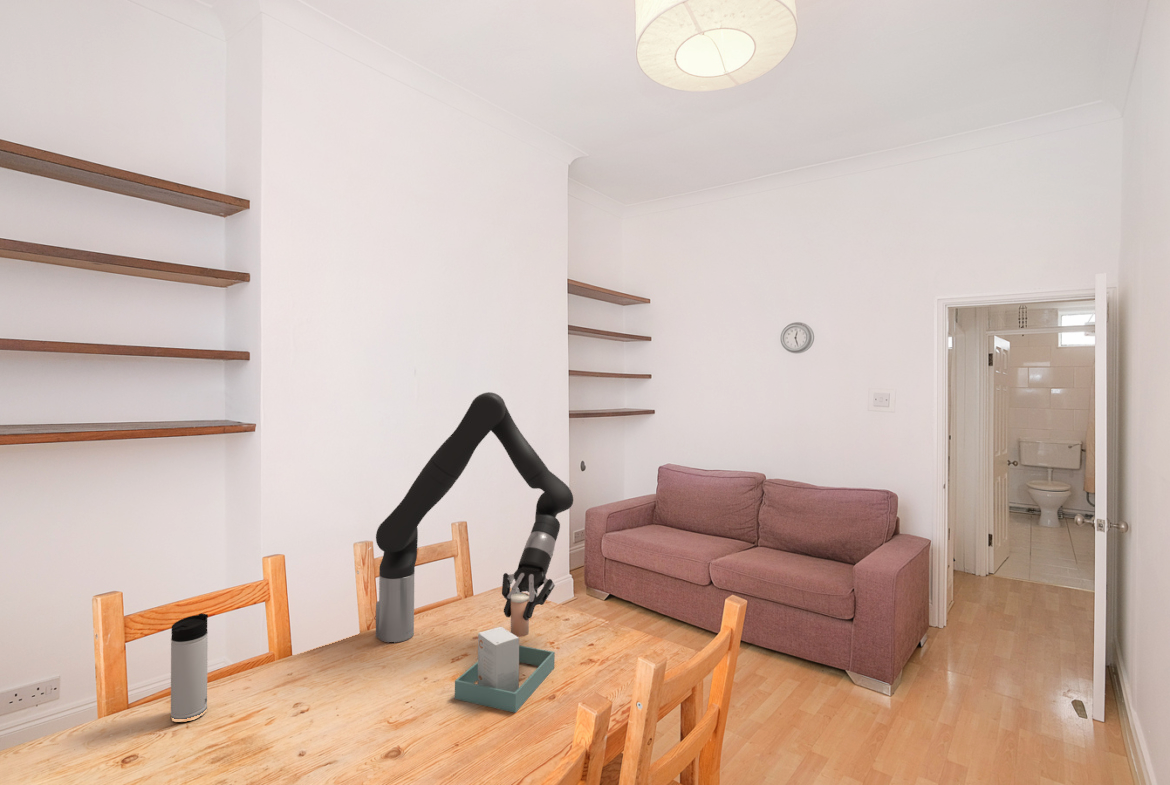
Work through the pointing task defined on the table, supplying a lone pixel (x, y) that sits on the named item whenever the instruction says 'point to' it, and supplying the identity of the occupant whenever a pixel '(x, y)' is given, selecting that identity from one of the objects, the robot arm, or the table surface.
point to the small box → (498, 659)
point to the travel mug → (189, 666)
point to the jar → (519, 614)
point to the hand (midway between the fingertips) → (516, 617)
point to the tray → (504, 698)
